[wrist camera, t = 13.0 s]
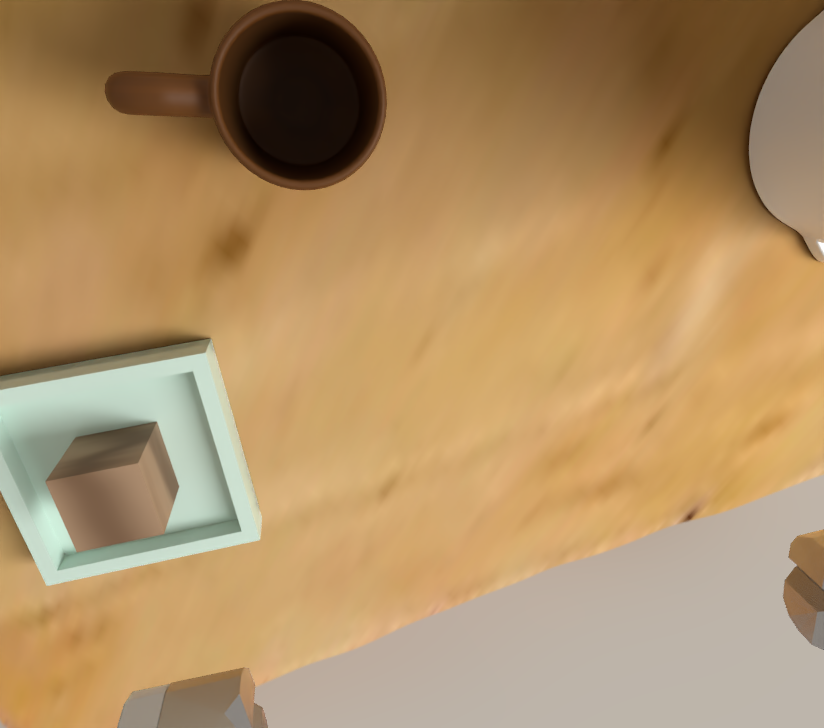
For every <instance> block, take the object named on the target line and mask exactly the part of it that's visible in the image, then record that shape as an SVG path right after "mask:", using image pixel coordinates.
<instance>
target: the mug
mask: <svg viewBox="0 0 824 728" xmlns="http://www.w3.org/2000/svg"><path fill="white" fill-rule="evenodd" d="M105 94H106V97H107V100H108V102H109V103H110V104H111V106H112V107H113V108H114V109H116V110H117V111H119V112H121V113H125V114H131V115H154V116H184V117H208V118H213V119H214V120H215V123H216V125H217V128H218V130H219V133H220V135H221V136H222V138H223V140H224V142H225V144H226V145H227V147H228V148H229V149H230V151H231V152H232V154H233V155H234V156H235V157H236V158H237V159H238V160H239V162H240V163H241V164H243V165H244V166H245V167H246V168H247V169H248V170H249V171H251V172H252V173H254V174H255V175H257V176H258V177H260V178H261V179H263V180H265V181H267V182H269V183H272V184H275V185H277V186H280V187H284V188H289V189H295V190H315V189H320V188H325V187H328V186H331V185H334V184H336V183H338V182H340V181H343V180H345V179H346V178H347V177H349V176H350V175H352V174H353V173H355V172H356V171H357V170H358V169H359V168H360V167H361V166H362V165H363V164H364V163H365V162H366V160H367V159H368V158H369V157H370V155H371V154H372V152H373V151H374V149H375V147H376V145H377V143H378V141H379V139H380V136H381V133H382V130H383V127H384V122H385V117H386V106H387V99H386V88H385V81H384V77H383V73H382V70H381V67H380V64H379V62H378V60H377V57H376V55H375V53H374V51H373V50H372V48H371V46H370V44H369V43H368V42H367V40H366V39H365V38H364V36H363V35H362V34H361V33H360V32H359V31H358V30H357V28H356V27H355V26H354V25H353V24H351V23H350V22H349V21H348V20H347V19H345V18H344V17H343V16H341V15H339V14H338V13H336V12H335V11H333V10H331V9H329V8H326V7H324V6H322V5H319V4H316V3H312V2H308V1H301V0H282V1H275V2H271V3H268V4H265V5H262V6H260V7H258V8H256V9H254V10H251V11H250V12H248V13H247V14H246V15H244V16H243V17H241V18H240V19H239V20H238V21H237V22H236V23H235V24H234V25H233V26H232V27H231V28H230V30H229V31H228V32H227V33H226V35H225V36H224V38H223V40H222V41H221V43H220V45H219V47H218V49H217V52H216V54H215V57H214V60H213V64H212V68H211V74H210V75H188V74H174V73H158V72H135V71H123V72H118V73H114V74H113V75H111V76H110V77H109V78H108V80H107V82H106V84H105Z"/></svg>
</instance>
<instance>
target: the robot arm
mask: <svg viewBox="0 0 824 728" xmlns="http://www.w3.org/2000/svg"><path fill="white" fill-rule="evenodd" d="M749 160H750V168H751V174H752V178H753V181H754V185H755V187H756V190H757V192H758V194H759V196H760V198H761V200H762V202H763V203H764V205H765V206H766V207H767V209H768V210H769V211H770V212H771V213H772V214H773V215H774V216H775V217H776V218H777V219H779V220H780V221H781V222H783V223H785V224H786V225H788V226H790V227H791V228H793V229H795V230H796V231H797V232H799V233H800V234H801V235H802V236H803V238H804V240H805V242H806V244H807V246H808V248H809V250H810V251H811V253H812V255H813V256H814V257H815V258H816V259H817V260H818V261H820V262H824V10H823V11H822V12H821V13H820V14H819V15H818V16H816V17H815V18H814V19H813V20H812V21H811V22H810V23H808V24H807V25H806V26H805V27H804V28H803V29H802V30H801V31H800V32H799V33H798V34H797V35H796V36H795V37H794V38H793V40H792V41H791V42H790V43H789V44H788V46H787V47H786V48H785V49H784V51H783V52H782V54H781V55H780V56H779V58H778V59H777V61H776V63H775V64H774V66H773V68H772V69H771V71H770V73H769V75H768V77H767V79H766V81H765V83H764V85H763V88H762V90H761V92H760V95H759V98H758V100H757V104H756V107H755V110H754V114H753V118H752V123H751V129H750V138H749ZM789 558H790V560H791V561H792V562H793V563H794V565H795V566H796V567H795V568H794V569H793V571H792V572H791V573H790V574H789V576H788V577H787V578H786V579H785V584H784V594H783V598H784V602H785V605H786V608H787V611H788V614H789V616H790V618H791V620H792V621H793V623H794V624H795V626H796V628H797V629H798V630H799V632H800V633H801V634H802V635H803V636H804V637H805V638H806V639H807V640H808V641H809V642H810V643H811V644H812V645H814V646H816V647H818V648H820V649H823V650H824V530H819V531H816V532H812V533H807V534H804V535H799V536H797V537H796V538H795V539H794V541H793V542H792V543H791V545H790V551H789ZM254 694H255V683H254V681H253V678H252V675H251V673H250V670H249V668H240V669H235V670H230V671H226V672H221V673H216V674H211V675H206V676H202V677H197V678H192V679H187V680H183V681H178V682H173V683H171V684H166V685H162V686H157V687H152V688H148V689H143V690H138V691H134V692H132V693H131V695H130V696H129V698H128V699H127V701H126V702H125V704H124V706H123V710H122V713H121V716H120V720H119V723H118V726H117V728H268V725H267V720H266V717H265V713H264V710H263V708H262V707H261V706H258V705H257V704H255V703H254Z"/></svg>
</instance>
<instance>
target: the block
mask: <svg viewBox="0 0 824 728" xmlns="http://www.w3.org/2000/svg"><path fill="white" fill-rule="evenodd" d="M45 483H46V485H47V487H48V489H49V491H50V494H51V496H52V498H53V500H54V503H55V505H56V507H57V509H58V511H59V514H60V516H61V518H62V520H63V523H64V525H65V527H66V529H67V531H68V534H69V536H70V538H71V540H72V543H73V545H74V547H75V549H76V552H82V551H86V550H91V549H96V548H101V547H105V546H110V545H115V544H120V543H124V542H129V541H134V540H139V539H143V538H148V537H153V536H158V535H162V534H164V533H165V530H166V527H167V524H168V521H169V517H170V514H171V511H172V508H173V505H174V502H175V499H176V495H177V492H178V489H179V484H178V481H177V478H176V476H175V473H174V470H173V467H172V464H171V461H170V458H169V455H168V452H167V449H166V446H165V444H164V441H163V438H162V435H161V432H160V429H159V426H158V423H157V422H152V423H147V424H142V425H137V426H132V427H126V428H121V429H116V430H111V431H105V432H100V433H95V434H90V435H84V436H79V437H75V439H74V440H73V442H72V443H71V444H70V446H69V447H68V449H67V450H66V452H65V453H64V455H63V456H62V458H61V459H60V461H59V462H58V463H57V465H56V466H55V468H54V469H53V471H52V472H51V474H50V475H49V477H48V478H47V480H46V481H45Z"/></svg>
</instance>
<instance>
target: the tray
mask: <svg viewBox="0 0 824 728" xmlns="http://www.w3.org/2000/svg"><path fill="white" fill-rule="evenodd" d="M152 422H157V423H158V426H159V429H160V432H161V435H162V438H163V441H164V444H165V446H166V449H167V452H168V455H169V458H170V461H171V464H172V467H173V470H174V473H175V476H176V478H177V481H178V484H179V489H178V492H177V495H176V499H175V502H174V505H173V508H172V511H171V514H170V517H169V521H168V524H167V527H166V530H165V533H164V534H162V535H158V536H153V537H148V538H143V539H139V540H134V541H129V542H124V543H120V544H115V545H110V546H105V547H101V548H96V549H91V550H86V551H82V552H76V549H75V547H74V545H73V543H72V540H71V538H70V536H69V534H68V531H67V529H66V527H65V525H64V523H63V520H62V518H61V516H60V514H59V511H58V509H57V507H56V505H55V503H54V500H53V498H52V496H51V494H50V491H49V489H48V487H47V485H46V483H45V481H46V480H47V478H48V477H49V475H50V474H51V472H52V471H53V469H54V468H55V466H56V465H57V463H58V462H59V461H60V459H61V458H62V456H63V455H64V453H65V452H66V450H67V449H68V447H69V446H70V444H71V443H72V442H73V440H74V439H75V437H79V436H84V435H90V434H95V433H100V432H105V431H111V430H116V429H121V428H126V427H132V426H137V425H142V424H147V423H152ZM0 491H1V493H2V495H3V497H4V499H5V501H6V503H7V505H8V507H9V509H10V512H11V514H12V516H13V518H14V520H15V522H16V524H17V526H18V528H19V530H20V532H21V534H22V536H23V538H24V540H25V542H26V544H27V546H28V548H29V550H30V552H31V554H32V557H33V559H34V561H35V563H36V565H37V567H38V569H39V571H40V573H41V575H42V577H43V579H44V581H45V583H46V585H47V586H49V585H53V584H58V583H63V582H67V581H72V580H77V579H81V578H86V577H91V576H95V575H100V574H104V573H109V572H114V571H118V570H123V569H128V568H132V567H137V566H142V565H146V564H151V563H155V562H160V561H165V560H169V559H174V558H179V557H183V556H188V555H193V554H197V553H202V552H207V551H211V550H216V549H220V548H225V547H230V546H234V545H239V544H244V543H248V542H253V541H258V540H260V535H261V524H262V516H261V512H260V509H259V505H258V502H257V498H256V495H255V491H254V488H253V484H252V480H251V477H250V473H249V470H248V466H247V463H246V459H245V456H244V452H243V449H242V445H241V442H240V438H239V435H238V431H237V428H236V424H235V421H234V417H233V414H232V410H231V407H230V403H229V399H228V396H227V392H226V389H225V385H224V382H223V378H222V375H221V371H220V368H219V364H218V361H217V357H216V354H215V350H214V347H213V343H212V340H211V338H210V339H205V340H199V341H193V342H188V343H182V344H177V345H171V346H165V347H160V348H154V349H149V350H143V351H137V352H132V353H126V354H121V355H115V356H110V357H104V358H98V359H93V360H87V361H82V362H76V363H70V364H65V365H59V366H54V367H48V368H43V369H37V370H31V371H26V372H20V373H15V374H9V375H3V376H0Z"/></svg>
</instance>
